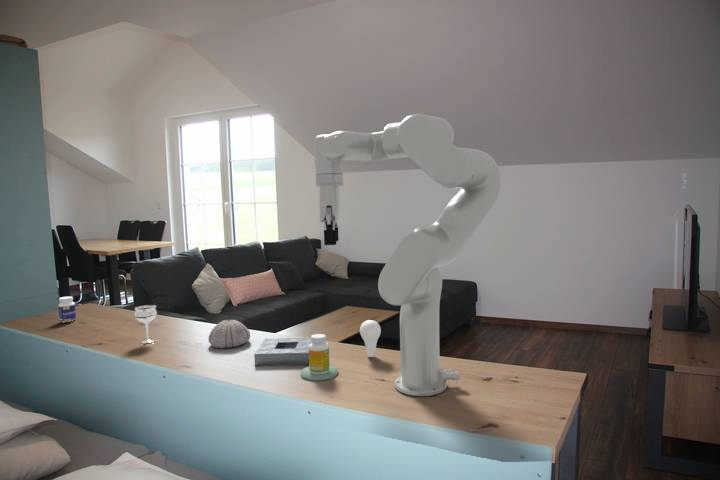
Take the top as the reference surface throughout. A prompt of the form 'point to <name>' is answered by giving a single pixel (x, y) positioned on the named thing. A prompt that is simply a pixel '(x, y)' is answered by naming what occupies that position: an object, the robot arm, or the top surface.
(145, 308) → the wineglass
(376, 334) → the lightbulb
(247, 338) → the sea urchin shell
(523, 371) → the top surface
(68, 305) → the pill bottle
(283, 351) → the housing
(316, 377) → the pad
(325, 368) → the supplement bottle
